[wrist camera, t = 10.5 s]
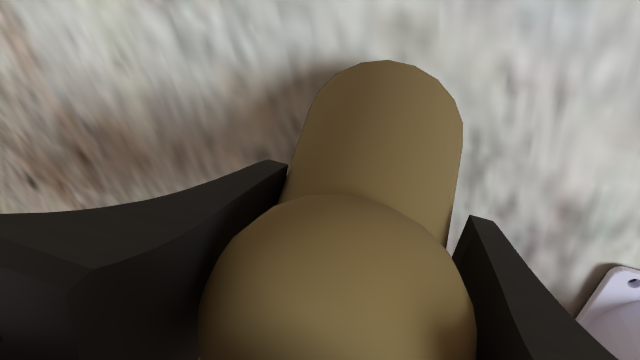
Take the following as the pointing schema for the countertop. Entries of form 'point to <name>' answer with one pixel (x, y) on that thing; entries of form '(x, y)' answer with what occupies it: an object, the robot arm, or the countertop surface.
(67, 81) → the countertop surface
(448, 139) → the olive pawn piece
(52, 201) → the countertop surface
